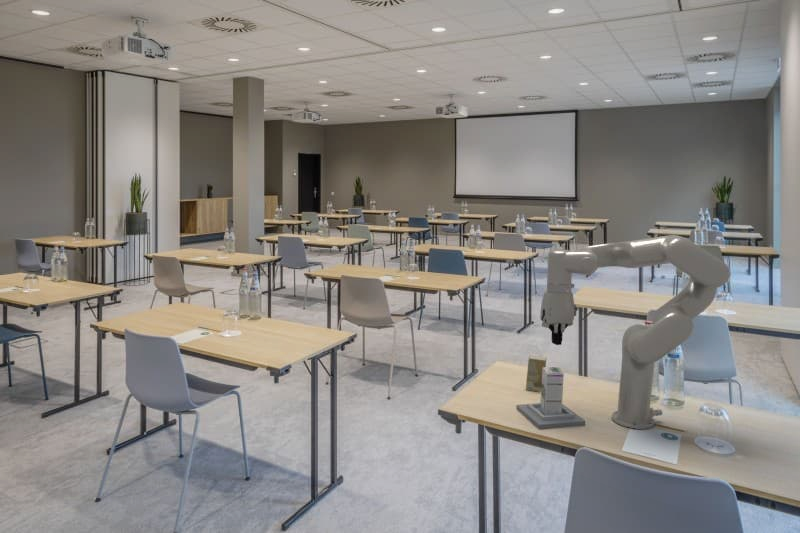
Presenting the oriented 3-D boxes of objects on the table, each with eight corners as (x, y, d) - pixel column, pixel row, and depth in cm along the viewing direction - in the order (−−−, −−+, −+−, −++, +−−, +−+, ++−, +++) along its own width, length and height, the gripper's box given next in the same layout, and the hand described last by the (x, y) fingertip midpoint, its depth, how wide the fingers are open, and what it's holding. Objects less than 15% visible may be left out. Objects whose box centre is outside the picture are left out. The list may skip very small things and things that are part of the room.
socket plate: (559, 405, 199) (560, 398, 199) (585, 425, 184) (585, 417, 183) (516, 409, 195) (516, 401, 195) (538, 429, 180) (539, 421, 179)
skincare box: (525, 390, 213) (527, 357, 211) (526, 386, 217) (528, 354, 215) (543, 392, 211) (545, 360, 209) (544, 388, 215) (546, 356, 213)
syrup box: (561, 416, 186) (565, 372, 184) (543, 416, 186) (546, 372, 184) (556, 409, 192) (560, 367, 190) (539, 409, 192) (542, 366, 190)
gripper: (573, 285, 192) (570, 339, 195) (532, 287, 188) (530, 342, 191) (586, 289, 185) (583, 345, 188) (543, 291, 181) (541, 348, 184)
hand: (556, 343), depth 189 cm, fingers closed
